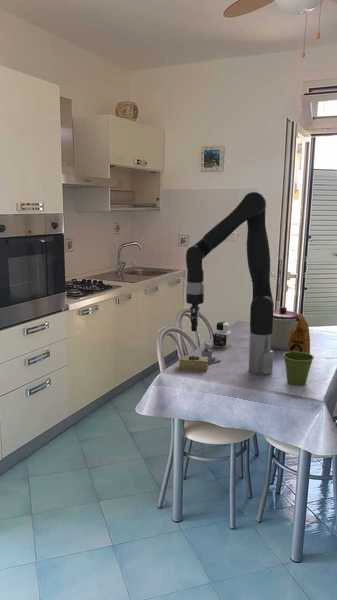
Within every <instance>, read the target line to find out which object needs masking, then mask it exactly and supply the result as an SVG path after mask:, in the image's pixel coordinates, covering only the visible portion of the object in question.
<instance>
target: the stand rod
mask: <svg viewBox="0 0 337 600" xmlns="http://www.w3.org/2000/svg"><path fill="white" fill-rule="evenodd" d="M190 356H191V360H197V357H198V355H193V354H192V355H190Z"/></svg>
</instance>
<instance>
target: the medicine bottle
mask: <svg viewBox="0 0 337 600" xmlns="http://www.w3.org/2000/svg"><path fill="white" fill-rule="evenodd" d="M229 325H230V324H229V323H228V322H226V321H225V322H224V321H219V322H216V331H214V332H213V335H212V336H213V338H212V346H213V347H215V346H216V347H215V348H221V347H222V348H223V349H227V348H228V347H230V346H231V345H232V331H230V330H229ZM222 348H221V349H222Z"/></svg>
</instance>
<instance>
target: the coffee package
mask: <svg viewBox="0 0 337 600" xmlns="http://www.w3.org/2000/svg"><path fill="white" fill-rule="evenodd" d="M298 314H299V316H298V317H299V318H297V319H296V320H295V321H298V322H297V323H296V324H295V326H294V327H293V329H292V332H291V334H290V337H289V341H288V350H287V352H304V353H308V354H311V338H310V337H311V336H310V327H309V324H308V322H307V319H306V318H305V317H304V315H303V313H298Z"/></svg>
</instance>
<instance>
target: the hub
mask: <svg viewBox="0 0 337 600" xmlns="http://www.w3.org/2000/svg"><path fill="white" fill-rule="evenodd" d="M200 351H201V354H200V355H197V357H208V366H210V365H213V363H214V364H217V363H220V362H221V360H220V359H217V358H216V356H214V355H213V350H211V349H210V343H209V342H205V343H203V349H202V350H200ZM209 364H210V365H209Z"/></svg>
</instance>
